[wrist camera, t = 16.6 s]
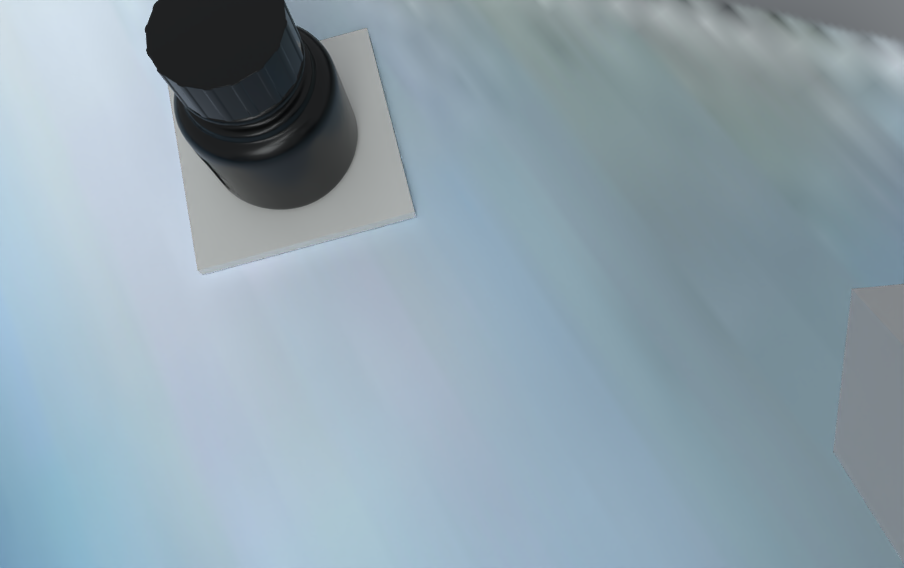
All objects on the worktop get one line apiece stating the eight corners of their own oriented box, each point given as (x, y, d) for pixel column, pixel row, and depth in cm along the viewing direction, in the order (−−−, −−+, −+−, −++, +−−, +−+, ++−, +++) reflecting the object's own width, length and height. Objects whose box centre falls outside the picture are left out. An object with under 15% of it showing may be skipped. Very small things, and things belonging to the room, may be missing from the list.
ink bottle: (251, 61, 52) (172, -77, 40) (382, 93, 50) (339, -41, 39) (190, 198, 49) (88, 93, 38) (326, 237, 48) (262, 138, 36)
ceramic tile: (369, 35, 53) (366, 27, 52) (416, 217, 48) (414, 211, 48) (172, 89, 53) (167, 82, 52) (202, 274, 49) (197, 270, 48)
